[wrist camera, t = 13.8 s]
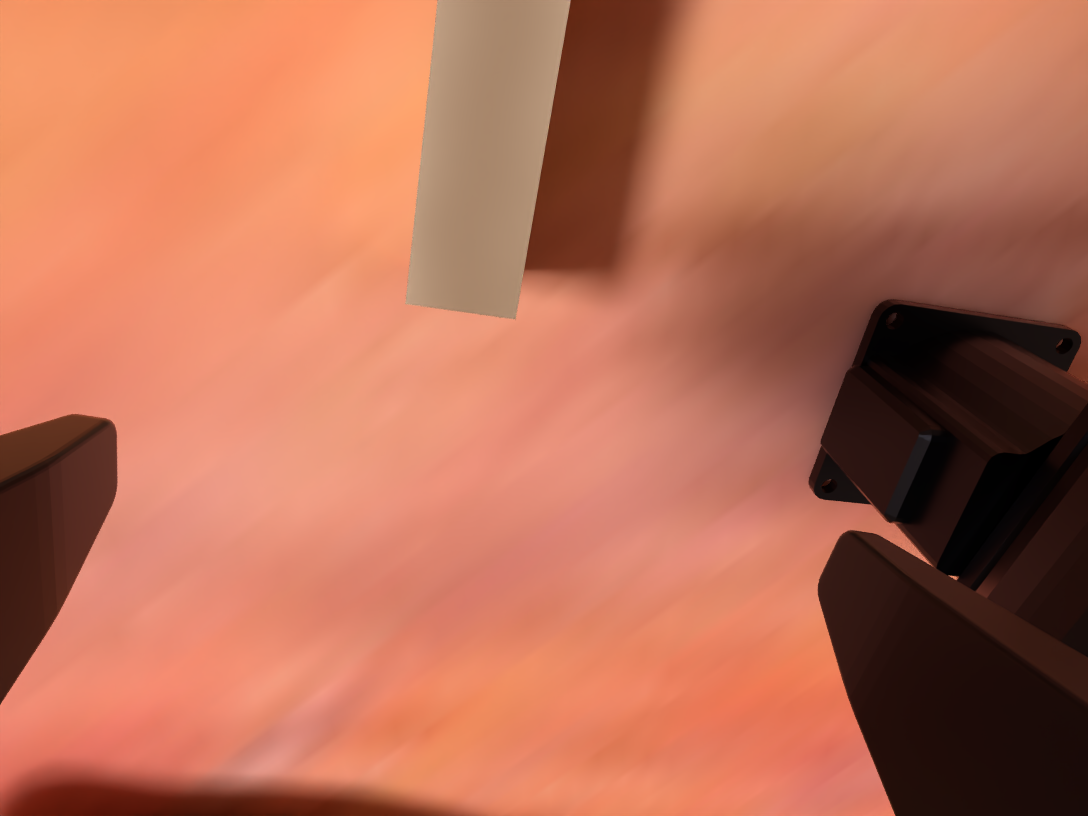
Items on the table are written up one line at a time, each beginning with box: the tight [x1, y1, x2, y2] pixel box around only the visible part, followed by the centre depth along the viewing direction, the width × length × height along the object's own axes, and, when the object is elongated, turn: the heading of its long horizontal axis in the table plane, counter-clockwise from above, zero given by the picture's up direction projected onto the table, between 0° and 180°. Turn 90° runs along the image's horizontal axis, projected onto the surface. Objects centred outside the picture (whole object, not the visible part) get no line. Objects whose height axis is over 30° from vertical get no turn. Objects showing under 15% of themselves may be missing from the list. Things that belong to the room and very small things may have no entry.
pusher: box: [405, 0, 571, 319], centre depth 16 cm, size 7×11×4 cm, turn 170°
